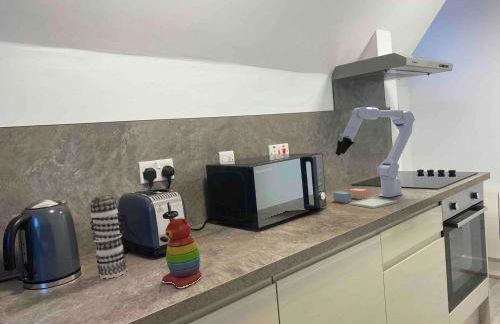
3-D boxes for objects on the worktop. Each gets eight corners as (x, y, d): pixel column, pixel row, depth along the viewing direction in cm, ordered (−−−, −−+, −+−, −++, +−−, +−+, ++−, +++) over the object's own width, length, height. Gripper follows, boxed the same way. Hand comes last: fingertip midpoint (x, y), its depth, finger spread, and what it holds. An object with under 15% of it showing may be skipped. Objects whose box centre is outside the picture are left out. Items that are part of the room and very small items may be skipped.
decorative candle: (133, 271, 119) (122, 194, 117) (104, 282, 113) (92, 200, 111) (121, 266, 125) (110, 193, 124) (93, 276, 119) (81, 198, 117)
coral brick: (356, 196, 199) (355, 188, 199) (368, 198, 191) (367, 189, 191) (350, 198, 198) (349, 189, 197) (362, 199, 190) (361, 191, 189)
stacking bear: (159, 282, 107) (151, 221, 106) (188, 270, 114) (181, 213, 113) (180, 290, 99) (172, 224, 98) (210, 277, 106) (202, 215, 105)
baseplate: (372, 198, 188) (372, 197, 188) (398, 202, 174) (397, 200, 173) (349, 204, 181) (349, 202, 181) (373, 208, 167) (373, 206, 167)
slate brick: (340, 199, 196) (339, 191, 196) (351, 201, 188) (351, 192, 188) (334, 201, 194) (333, 192, 194) (345, 203, 186) (344, 194, 186)
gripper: (340, 128, 191) (328, 151, 190) (348, 123, 177) (336, 148, 176) (352, 134, 191) (340, 158, 190) (362, 129, 177) (349, 155, 176)
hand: (339, 154), depth 183 cm, fingers open, 7 cm apart
